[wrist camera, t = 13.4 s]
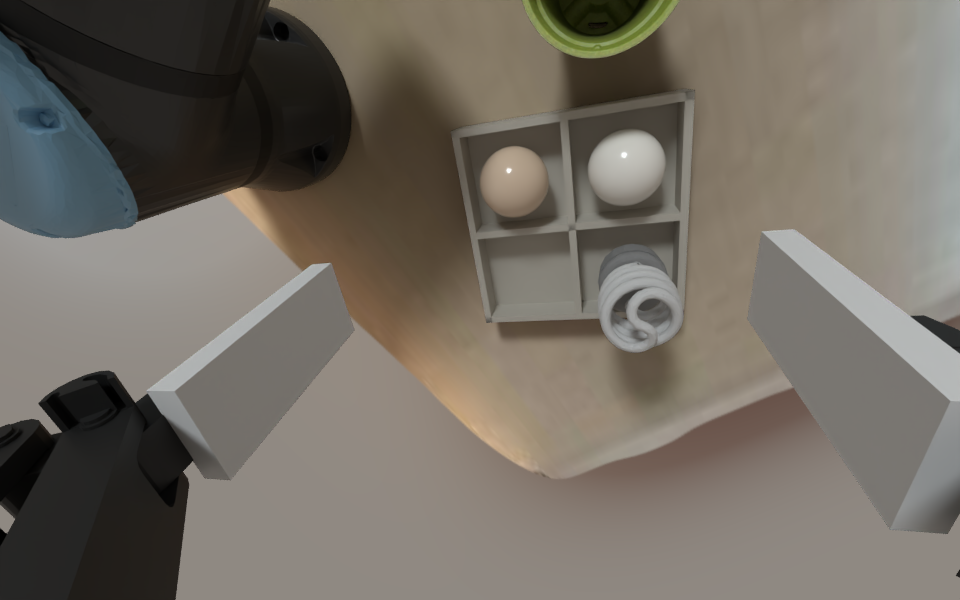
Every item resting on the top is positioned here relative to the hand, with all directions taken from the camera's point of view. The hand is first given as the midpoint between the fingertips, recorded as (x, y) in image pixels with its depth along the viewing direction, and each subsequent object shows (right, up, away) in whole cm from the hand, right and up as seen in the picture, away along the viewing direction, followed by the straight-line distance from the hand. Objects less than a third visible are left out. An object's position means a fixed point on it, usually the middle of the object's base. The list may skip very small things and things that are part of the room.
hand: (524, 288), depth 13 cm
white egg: (+10, +11, +21) cm, 26 cm away
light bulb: (+12, +3, +25) cm, 28 cm away
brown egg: (+2, +11, +23) cm, 26 cm away
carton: (+7, +7, +24) cm, 26 cm away
